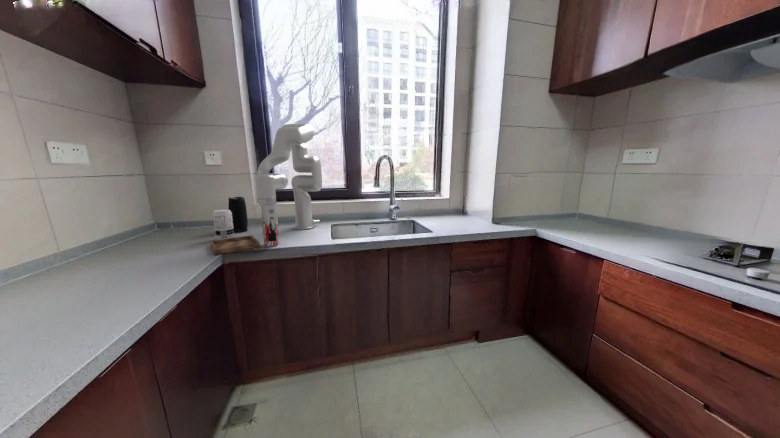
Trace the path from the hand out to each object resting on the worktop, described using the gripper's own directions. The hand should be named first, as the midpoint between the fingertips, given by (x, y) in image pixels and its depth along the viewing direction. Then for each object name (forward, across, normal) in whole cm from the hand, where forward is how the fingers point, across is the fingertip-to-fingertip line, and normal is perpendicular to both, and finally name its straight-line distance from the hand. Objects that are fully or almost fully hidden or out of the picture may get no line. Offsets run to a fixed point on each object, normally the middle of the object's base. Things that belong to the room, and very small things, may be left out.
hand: (270, 239), depth 128 cm
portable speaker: (+3, +40, +7) cm, 41 cm away
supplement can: (+3, +25, +16) cm, 30 cm away
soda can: (+3, 0, 0) cm, 3 cm away
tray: (+3, +8, +14) cm, 16 cm away
